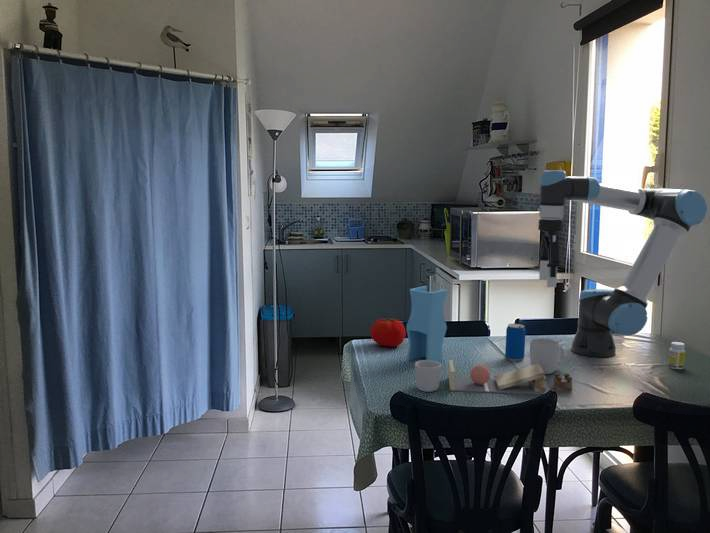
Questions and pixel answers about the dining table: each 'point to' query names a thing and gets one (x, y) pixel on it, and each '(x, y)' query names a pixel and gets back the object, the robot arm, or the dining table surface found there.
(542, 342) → the mug
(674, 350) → the supplement bottle
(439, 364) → the cup
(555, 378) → the brown block with bumps
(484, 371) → the ball
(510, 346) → the beverage can
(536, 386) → the ramp
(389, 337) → the tomato
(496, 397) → the dining table surface
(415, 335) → the vase
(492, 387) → the runway
